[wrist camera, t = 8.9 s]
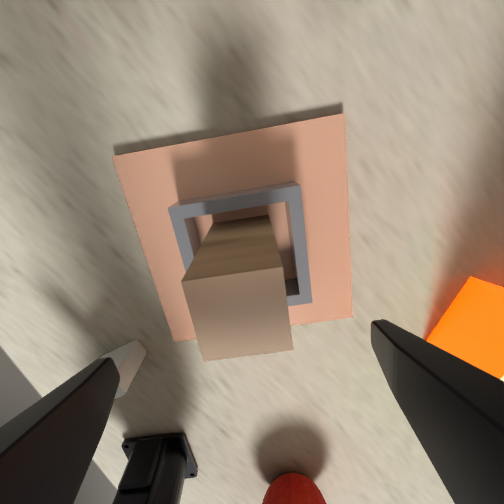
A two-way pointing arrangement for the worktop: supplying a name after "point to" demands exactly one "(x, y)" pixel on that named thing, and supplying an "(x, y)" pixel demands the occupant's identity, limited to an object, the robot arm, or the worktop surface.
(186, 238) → the block holder
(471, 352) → the orange juice
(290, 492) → the apple
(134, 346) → the lighter
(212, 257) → the wooden block
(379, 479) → the worktop surface
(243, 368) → the worktop surface
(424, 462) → the worktop surface
